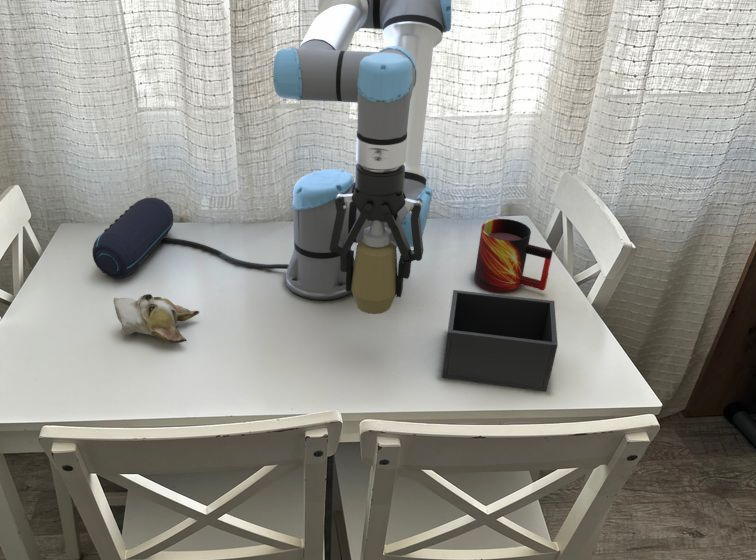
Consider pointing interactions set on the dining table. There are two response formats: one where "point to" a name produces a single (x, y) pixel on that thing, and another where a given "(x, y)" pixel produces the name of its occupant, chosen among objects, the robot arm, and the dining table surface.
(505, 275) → the mug
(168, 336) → the ceramic sculpture
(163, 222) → the portable speaker
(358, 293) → the squeeze bottle
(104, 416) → the dining table surface
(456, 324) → the bin
